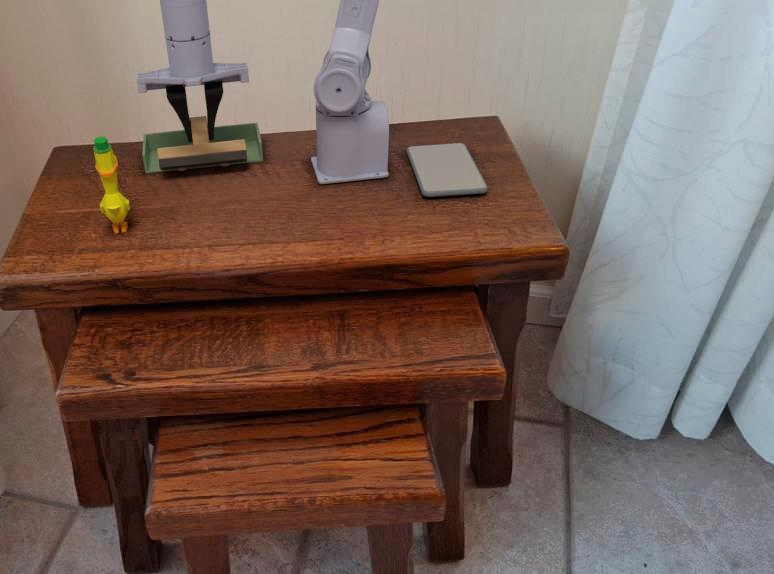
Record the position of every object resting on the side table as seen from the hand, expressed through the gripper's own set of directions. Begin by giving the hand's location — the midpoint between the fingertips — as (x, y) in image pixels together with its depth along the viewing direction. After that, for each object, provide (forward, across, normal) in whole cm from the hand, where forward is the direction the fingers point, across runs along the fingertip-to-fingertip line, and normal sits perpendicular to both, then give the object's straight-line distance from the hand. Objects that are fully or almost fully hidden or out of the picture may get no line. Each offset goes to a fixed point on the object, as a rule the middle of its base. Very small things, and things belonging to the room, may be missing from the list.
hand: (200, 138), depth 106 cm
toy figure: (+4, -11, -16) cm, 20 cm away
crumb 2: (+3, +3, -1) cm, 4 cm away
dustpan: (+4, 0, +5) cm, 6 cm away
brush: (+3, 0, -3) cm, 4 cm away
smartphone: (+4, +32, -10) cm, 34 cm away
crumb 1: (+3, -3, -1) cm, 4 cm away
